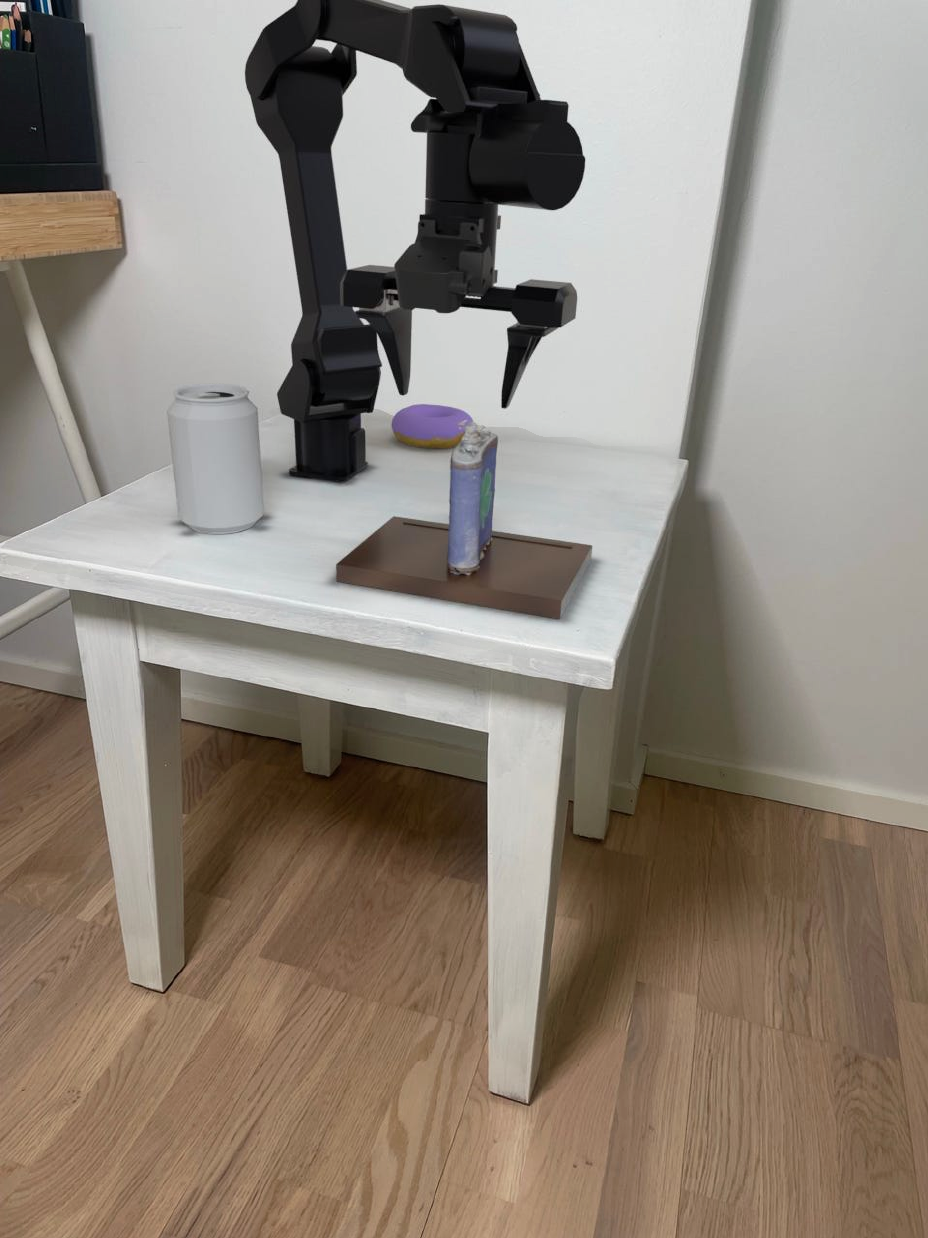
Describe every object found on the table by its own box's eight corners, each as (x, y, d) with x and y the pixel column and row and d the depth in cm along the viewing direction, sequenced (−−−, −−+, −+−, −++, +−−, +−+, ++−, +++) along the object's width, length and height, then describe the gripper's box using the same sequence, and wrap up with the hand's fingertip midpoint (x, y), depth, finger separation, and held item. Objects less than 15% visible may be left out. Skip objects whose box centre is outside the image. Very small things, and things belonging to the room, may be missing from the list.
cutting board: (336, 581, 72) (335, 562, 72) (393, 531, 83) (393, 514, 82) (559, 619, 68) (561, 599, 67) (591, 561, 78) (592, 543, 77)
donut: (380, 444, 107) (382, 401, 105) (401, 441, 115) (404, 401, 114) (464, 452, 105) (467, 409, 104) (479, 448, 114) (483, 408, 112)
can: (279, 515, 85) (272, 385, 80) (236, 542, 79) (225, 402, 74) (209, 504, 87) (198, 376, 82) (161, 529, 81) (146, 392, 76)
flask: (475, 577, 70) (480, 439, 65) (437, 573, 71) (440, 436, 66) (496, 534, 78) (501, 409, 74) (462, 531, 79) (465, 406, 74)
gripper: (305, 195, 67) (311, 408, 74) (553, 213, 62) (534, 439, 69) (368, 192, 77) (368, 381, 84) (587, 207, 72) (568, 406, 79)
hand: (453, 400), depth 79 cm, fingers open, 9 cm apart
